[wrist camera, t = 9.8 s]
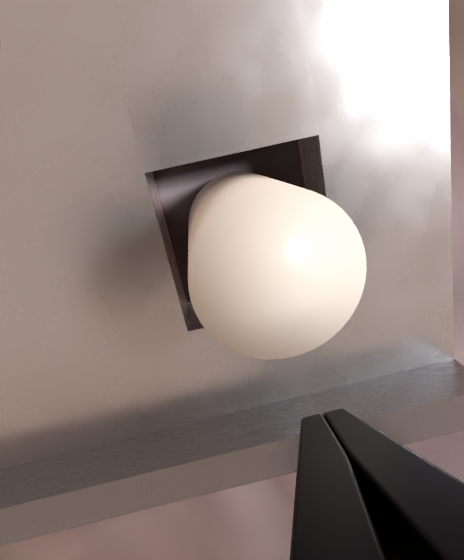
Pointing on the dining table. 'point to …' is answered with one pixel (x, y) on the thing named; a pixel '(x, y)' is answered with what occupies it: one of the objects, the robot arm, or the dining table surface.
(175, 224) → the dining table surface
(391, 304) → the jig
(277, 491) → the dining table surface
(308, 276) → the cream domed knob
